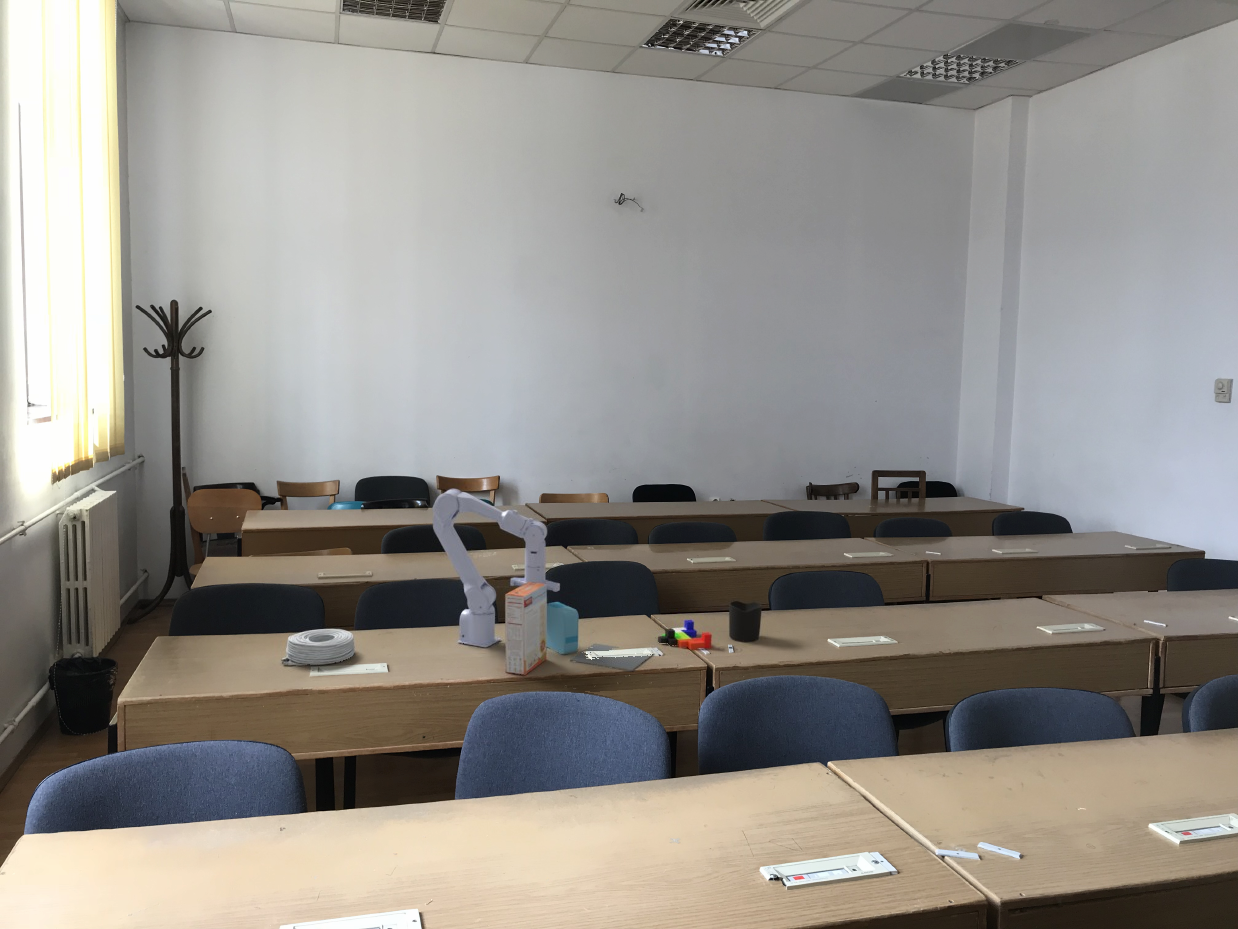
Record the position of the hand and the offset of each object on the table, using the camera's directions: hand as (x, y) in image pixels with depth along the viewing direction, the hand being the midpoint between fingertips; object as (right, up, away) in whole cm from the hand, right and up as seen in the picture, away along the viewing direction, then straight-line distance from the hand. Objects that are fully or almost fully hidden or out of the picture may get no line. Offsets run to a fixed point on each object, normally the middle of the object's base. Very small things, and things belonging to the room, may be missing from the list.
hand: (534, 613), depth 264 cm
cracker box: (-1, -11, -17) cm, 20 cm away
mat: (+22, -11, -8) cm, 26 cm away
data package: (+7, -10, -2) cm, 12 cm away
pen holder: (+60, -9, +12) cm, 62 cm away
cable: (-56, -10, -13) cm, 58 cm away
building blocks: (+41, -10, +7) cm, 43 cm away
